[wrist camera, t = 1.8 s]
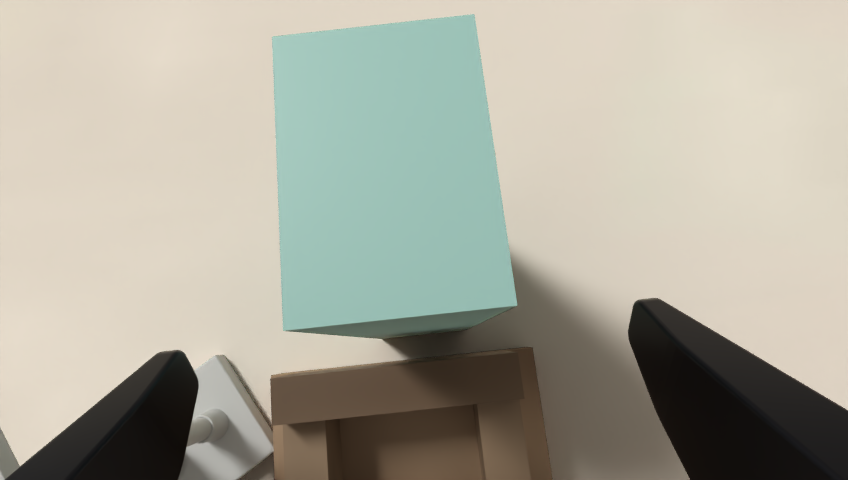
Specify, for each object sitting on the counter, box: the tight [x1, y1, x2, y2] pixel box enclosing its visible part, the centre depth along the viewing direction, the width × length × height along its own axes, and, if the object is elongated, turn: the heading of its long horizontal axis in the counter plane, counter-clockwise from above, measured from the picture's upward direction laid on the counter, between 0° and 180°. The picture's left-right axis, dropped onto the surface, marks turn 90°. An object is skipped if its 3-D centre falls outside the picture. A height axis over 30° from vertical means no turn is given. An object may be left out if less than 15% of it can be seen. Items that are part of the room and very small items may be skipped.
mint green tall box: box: [272, 14, 517, 339], centre depth 14 cm, size 6×4×12 cm, turn 6°
